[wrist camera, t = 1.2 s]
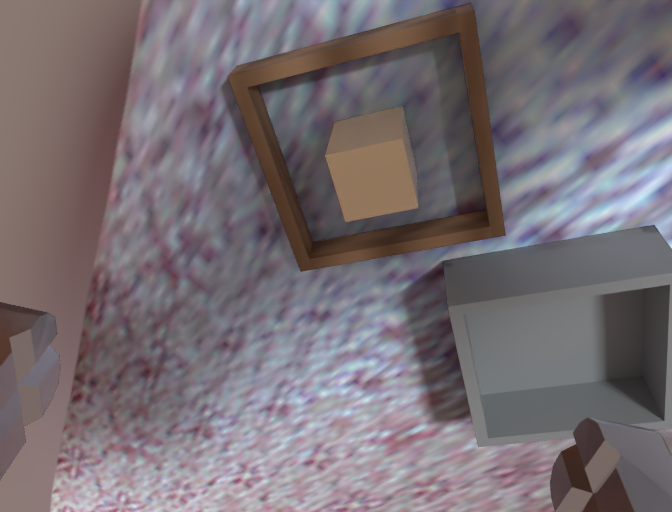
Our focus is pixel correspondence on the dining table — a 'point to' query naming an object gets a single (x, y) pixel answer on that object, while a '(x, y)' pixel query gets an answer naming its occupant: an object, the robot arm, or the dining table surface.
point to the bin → (565, 335)
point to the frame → (350, 49)
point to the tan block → (373, 165)
